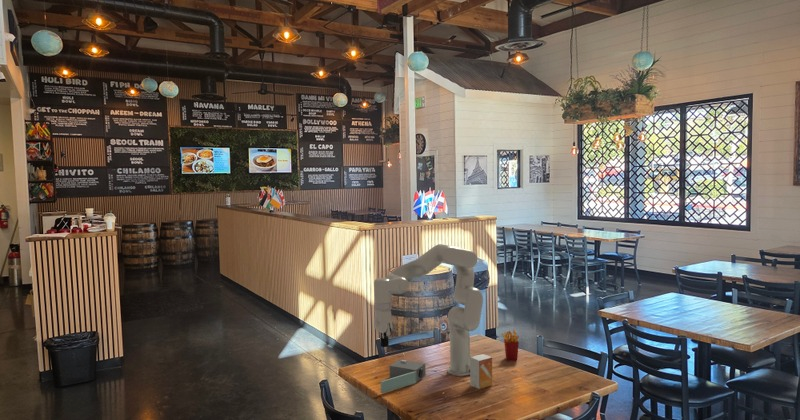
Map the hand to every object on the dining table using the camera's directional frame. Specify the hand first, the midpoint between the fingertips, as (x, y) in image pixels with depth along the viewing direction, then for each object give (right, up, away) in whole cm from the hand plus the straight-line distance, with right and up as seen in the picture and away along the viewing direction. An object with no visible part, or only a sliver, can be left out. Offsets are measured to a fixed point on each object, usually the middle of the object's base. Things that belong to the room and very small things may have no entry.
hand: (384, 346), depth 234 cm
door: (+7, -19, 0) cm, 20 cm away
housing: (+11, -18, +14) cm, 26 cm away
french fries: (+64, -16, +37) cm, 75 cm away
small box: (+44, -18, +2) cm, 48 cm away
